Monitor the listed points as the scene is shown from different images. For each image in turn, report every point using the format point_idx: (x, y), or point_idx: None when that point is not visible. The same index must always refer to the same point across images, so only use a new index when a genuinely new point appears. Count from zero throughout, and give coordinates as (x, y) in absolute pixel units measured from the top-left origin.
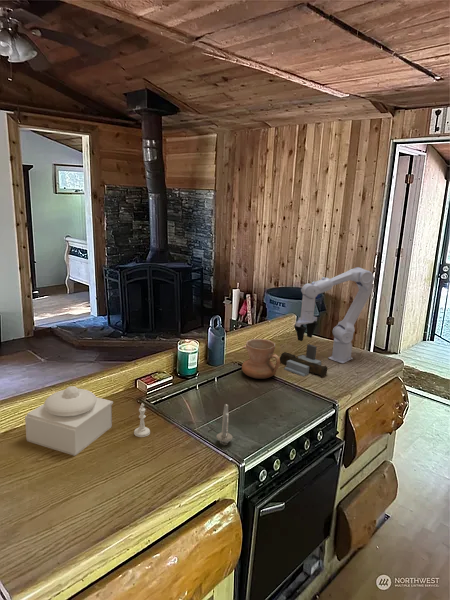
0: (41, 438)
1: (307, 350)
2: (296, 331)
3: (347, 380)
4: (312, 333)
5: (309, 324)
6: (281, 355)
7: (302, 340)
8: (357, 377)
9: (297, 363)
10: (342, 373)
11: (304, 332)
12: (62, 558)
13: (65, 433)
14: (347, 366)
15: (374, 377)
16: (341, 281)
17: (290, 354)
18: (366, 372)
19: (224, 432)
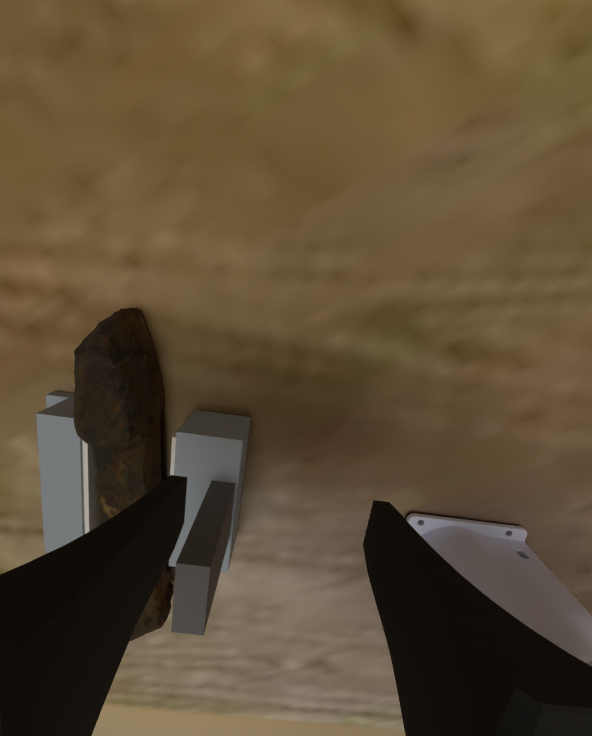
0: None
1: (193, 527)
2: (61, 551)
3: (194, 661)
4: (383, 608)
5: (456, 730)
6: (93, 330)
7: (178, 529)
8: (261, 679)
9: (63, 485)
10: (257, 625)
11: (111, 671)
12: None
13: None
14: (366, 614)
15: (315, 721)
16: None
17: (102, 409)
18: (350, 688)
19: None
